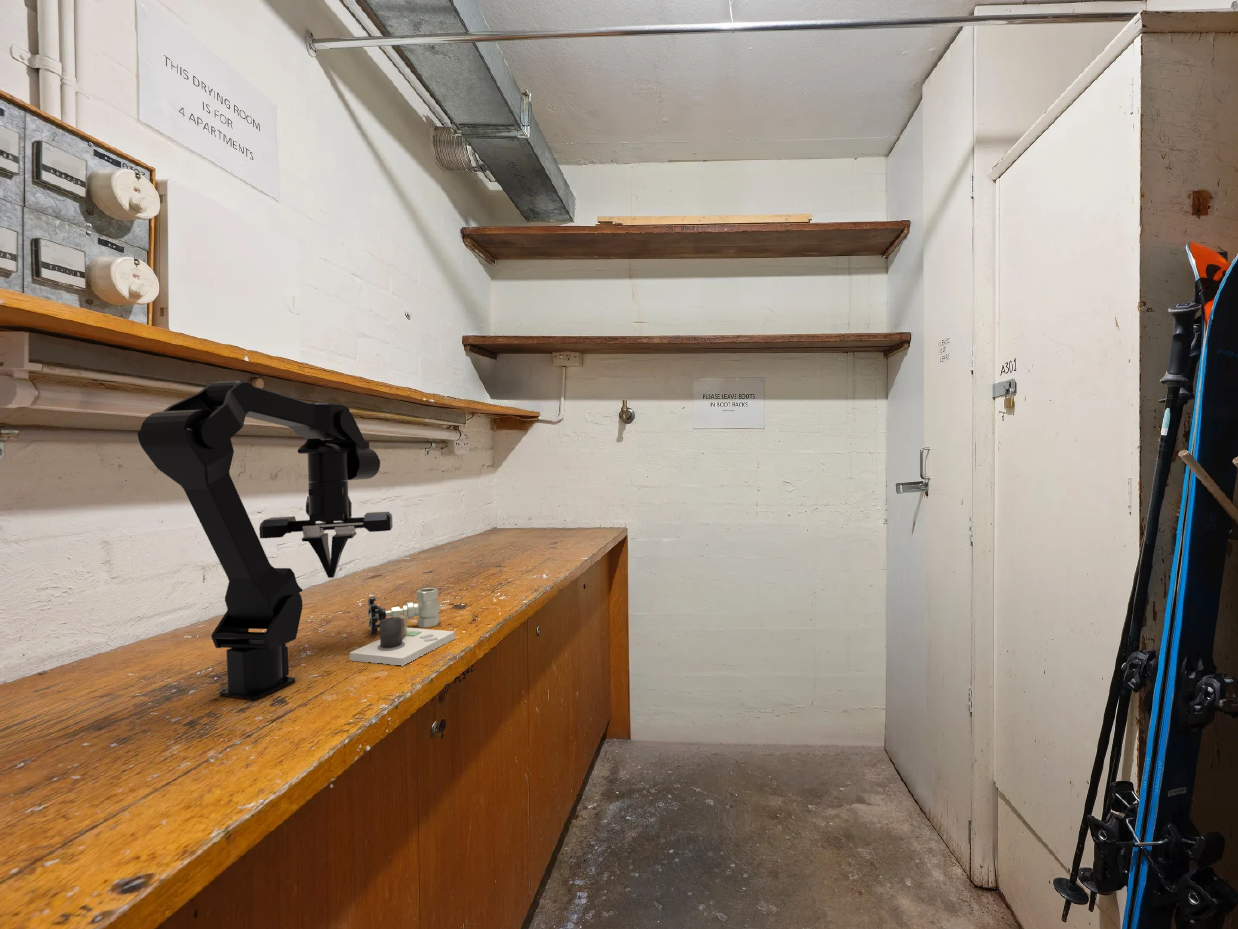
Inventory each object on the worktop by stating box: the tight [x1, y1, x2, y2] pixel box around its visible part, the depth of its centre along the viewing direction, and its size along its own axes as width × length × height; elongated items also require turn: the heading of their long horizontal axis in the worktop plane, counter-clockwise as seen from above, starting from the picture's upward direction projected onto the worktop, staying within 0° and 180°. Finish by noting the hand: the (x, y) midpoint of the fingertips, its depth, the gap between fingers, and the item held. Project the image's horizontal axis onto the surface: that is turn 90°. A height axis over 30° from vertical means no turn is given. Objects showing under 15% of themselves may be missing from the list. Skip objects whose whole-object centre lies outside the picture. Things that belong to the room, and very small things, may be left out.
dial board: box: [348, 627, 456, 667], centre depth 92 cm, size 13×10×1 cm
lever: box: [379, 615, 408, 647], centre depth 92 cm, size 7×3×4 cm, turn 7°
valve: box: [367, 587, 441, 635], centre depth 103 cm, size 7×7×12 cm
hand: (331, 577), depth 92 cm, fingers closed
